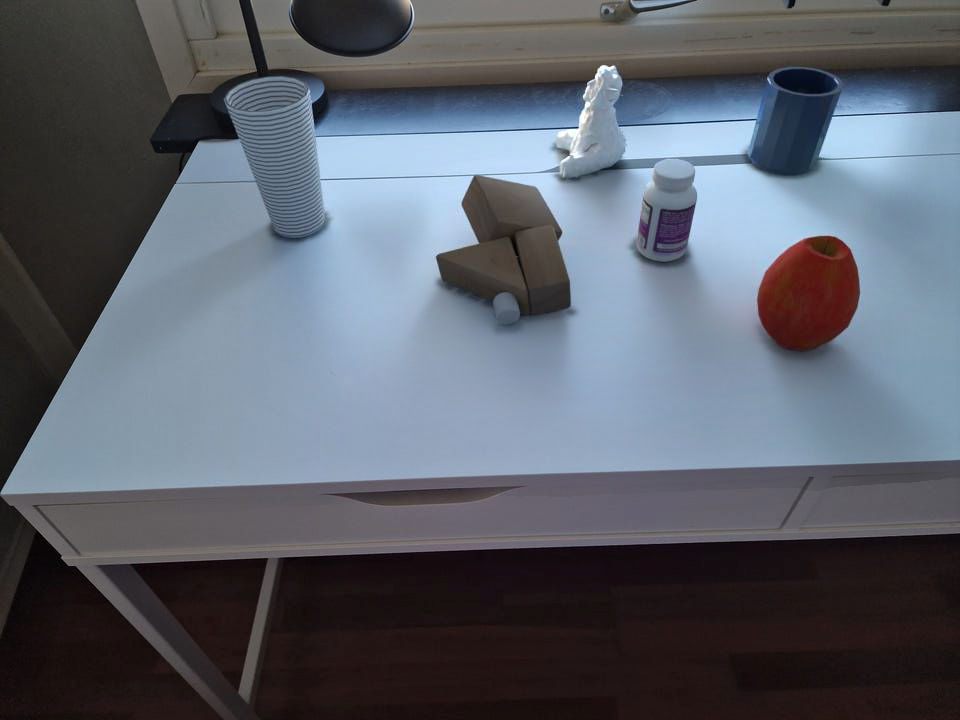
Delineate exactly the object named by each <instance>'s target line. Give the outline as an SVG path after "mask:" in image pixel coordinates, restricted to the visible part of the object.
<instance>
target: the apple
mask: <svg viewBox="0 0 960 720" xmlns="http://www.w3.org/2000/svg"><path fill="white" fill-rule="evenodd" d="M855 259H856V258H855V257H854V254H853V251H852V249H851V248H850V246H848V245H847V244H846V242H844V240H842V239H840V238H838V237H837V236H834V235H816V236H809V237H805V238H802V239H801V240H799V241H797V242H796V243H794V244H792V245H791V246H790V247H788V248H787V249H785V250H784V251H783V252H782V253H780V254H779V256H777V258H776V259H775V260H774V261H773V262H772V263H771V265H770V266H769V267H767V269H766V270H765V272H764V274H763V277H762V279H761V282H760V285H759V287H758V290H757V298H756V302H757V315H758V318H759V319H760V323H761V325H762V327H763V328H764V330H765V331H766V333H767V334H768V336H769V337H770V339H772V340H773V341H774V342H775V343H776V344H777V345H779V346H781V347H783V348H786V349H788V350H791V351H799V352H801V351H802V352H807V351H810V350H815V349H818V348H819V347H822V346H824V345H826V344H828V343H830V342H832V341H833V340H835V339H836V338H837V337H838V336H840V335H841V333H843V332H844V331H845V330H846V329H847V328H849V326H850V324H851V322H852V320H853V318H854V316H855V314H856V312H857V309H858V306H859V301H860V296H861V287H860V285H861V284H860V275H859V268H858V265H857V262H856V260H855Z"/></svg>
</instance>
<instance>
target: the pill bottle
mask: <svg viewBox="0 0 960 720" xmlns="http://www.w3.org/2000/svg"><path fill="white" fill-rule="evenodd" d="M695 175H696V168H695V166H694V165H693V164H692V163H691V162H688V161H686V160H683V159H678V158H666V159H662V160H660V161H658V162H656V163H655V164H654V166H653V172H652V176H651V178H652V179H651V180H650V181H649V182H648V183H647V184H646V185H645V187H644V190H643V193H642V201H641V206H640V207H641V210H640V214H639V220H638V221H639V222H638V229H637V236H636V248H637V250H638V252H639V253H640V254H641V255H642V256H644V257H645V258H647V259H649V260H651V261H655V262H663V263H664V262H665V263H667V262H672V261H676V260H678V259H680V258H682V257H683V256H684V254H685V253H686V251H687V248H688V244H689V239H690V234H691V229H692V224H693V220H694V215H695V211H696V206H697V201H698V191H697V188H696V187H695V186H694V181H695Z"/></svg>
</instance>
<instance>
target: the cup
mask: <svg viewBox="0 0 960 720" xmlns="http://www.w3.org/2000/svg"><path fill="white" fill-rule="evenodd" d="M223 101H224V103H225V106H226V109H227V111H228V115H229V117H230V119H231V121H232V124H233V127H234V129H235V132H236V134H237V137H238V140H239V142H240V144H241V147H242V150H243V153H244V155H245V158H246V160H247V162H248V166H249V168H250V170H251V173H252V175H253V178H254V181H255V183H256V186H257V188H258V191H259V193H260V197H261V198H262V201H263V203H264V206H265V209H266V211H267V214H268V216H269V217H268V218H269V219H270V222H271V225H272V227H273V230H274V231H275V232H276V233H277V234H278V235H280V236H281V237H286V238H289V239H290V238H291V239H293V238H303V237H307V236H311V235H313V234H314V233H317V232H318V231H319V230H320V229H321V228H323V226H324V224H325V222H326V213H325V203H324V196H323V187H322V179H321V172H320V161H319V154H318V147H317V138H316V131H315V130H316V129H315V122H314V114H313V106H312V96H311V88H310V87H309V86H308V84H307V82H306V81H303V80H301V79H299V78H297V77H293V76H286V75H277V76H276V75H273V76H271V75H270V76H263V77H257V78H252V79H249V80H246V81H243V82H241V83H238V84H236V85H235V86H234V87H232V88H230V89H229V90H227V93H226V94H225V96H224V98H223Z"/></svg>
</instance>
